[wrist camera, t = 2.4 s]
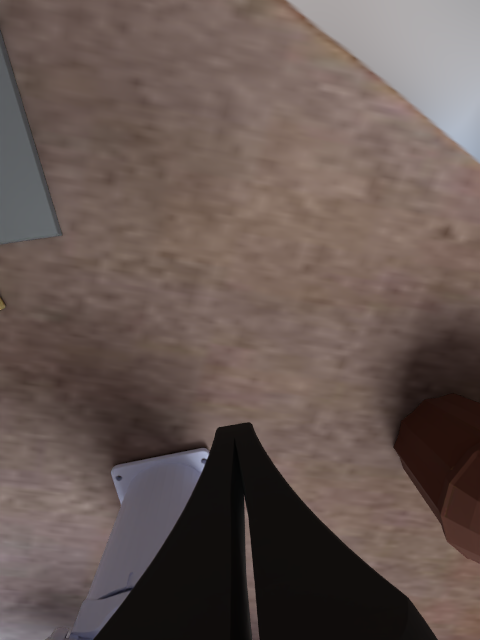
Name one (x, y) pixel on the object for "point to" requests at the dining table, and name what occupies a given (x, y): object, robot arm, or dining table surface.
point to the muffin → (446, 465)
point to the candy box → (2, 304)
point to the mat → (20, 169)
